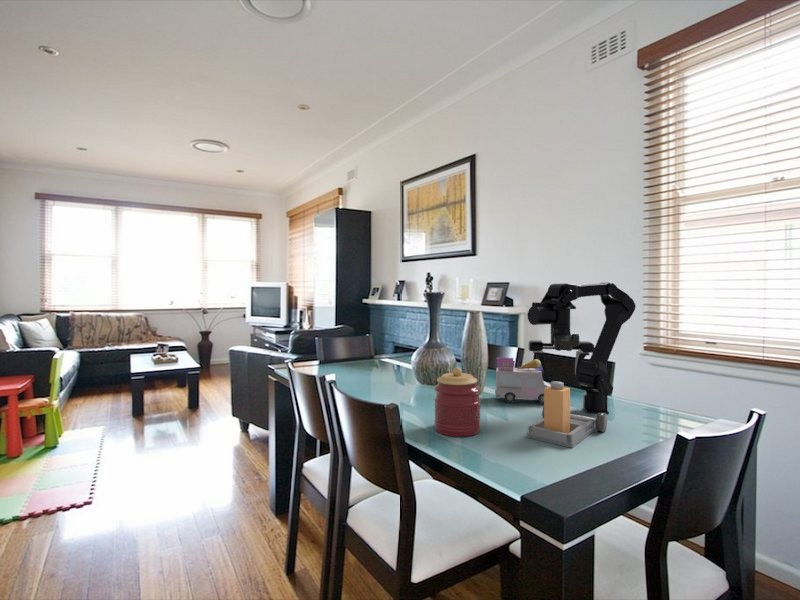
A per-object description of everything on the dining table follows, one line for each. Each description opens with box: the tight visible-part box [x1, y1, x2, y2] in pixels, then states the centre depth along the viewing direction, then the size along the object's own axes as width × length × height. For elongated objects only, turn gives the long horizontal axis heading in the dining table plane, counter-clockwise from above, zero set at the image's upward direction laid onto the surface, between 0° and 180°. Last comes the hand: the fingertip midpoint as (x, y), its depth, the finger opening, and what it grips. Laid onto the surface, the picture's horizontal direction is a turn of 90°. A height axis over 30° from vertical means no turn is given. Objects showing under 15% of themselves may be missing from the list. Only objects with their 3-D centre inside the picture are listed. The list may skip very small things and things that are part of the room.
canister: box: [433, 366, 482, 438], centre depth 120 cm, size 13×13×18 cm
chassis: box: [526, 406, 608, 449], centre depth 118 cm, size 22×17×5 cm
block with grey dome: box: [543, 380, 571, 434], centre depth 114 cm, size 5×5×14 cm
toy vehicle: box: [494, 356, 551, 405], centre depth 151 cm, size 9×20×15 cm, turn 78°
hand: (560, 374), depth 133 cm, fingers open, 9 cm apart
